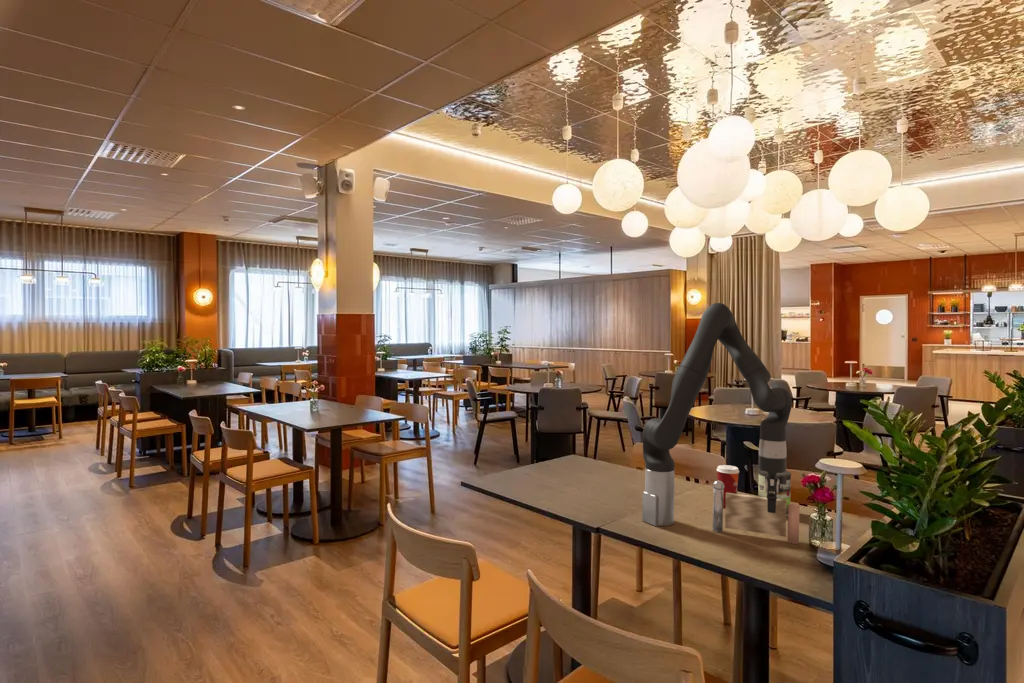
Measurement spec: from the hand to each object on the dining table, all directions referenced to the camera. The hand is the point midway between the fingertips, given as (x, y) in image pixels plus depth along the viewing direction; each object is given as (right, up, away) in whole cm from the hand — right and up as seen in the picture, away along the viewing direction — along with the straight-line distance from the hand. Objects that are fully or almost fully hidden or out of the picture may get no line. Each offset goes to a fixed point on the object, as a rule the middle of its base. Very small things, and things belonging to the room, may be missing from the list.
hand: (771, 508), depth 168 cm
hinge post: (-14, -9, +6) cm, 18 cm away
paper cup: (-1, -9, +31) cm, 32 cm away
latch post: (+5, -9, -2) cm, 11 cm away
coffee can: (+12, -9, +25) cm, 29 cm away
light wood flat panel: (-4, -8, +2) cm, 9 cm away
